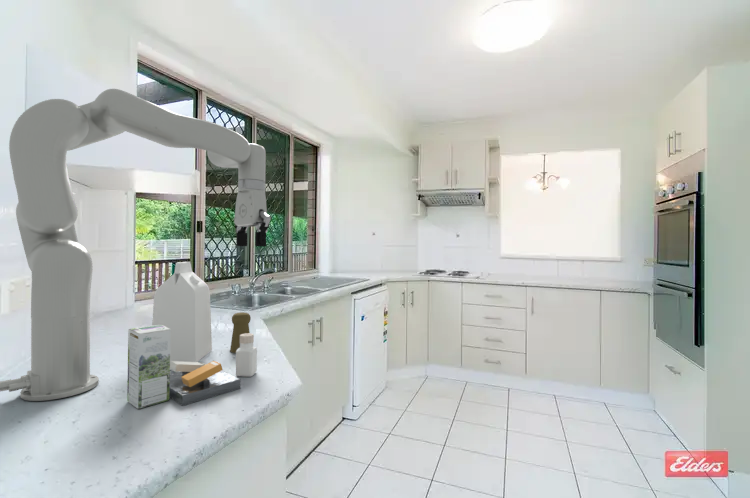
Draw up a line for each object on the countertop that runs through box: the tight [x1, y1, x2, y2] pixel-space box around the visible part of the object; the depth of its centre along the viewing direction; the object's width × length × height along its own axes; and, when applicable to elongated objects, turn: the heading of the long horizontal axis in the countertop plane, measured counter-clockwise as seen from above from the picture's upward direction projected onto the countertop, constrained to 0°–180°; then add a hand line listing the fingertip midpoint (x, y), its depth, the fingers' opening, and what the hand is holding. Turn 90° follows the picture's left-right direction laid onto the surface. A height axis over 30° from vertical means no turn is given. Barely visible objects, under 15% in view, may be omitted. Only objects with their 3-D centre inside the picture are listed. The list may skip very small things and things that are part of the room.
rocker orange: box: [181, 360, 223, 387], centre depth 78 cm, size 7×3×2 cm, turn 139°
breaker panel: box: [169, 370, 242, 407], centre depth 81 cm, size 12×14×3 cm
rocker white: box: [170, 361, 207, 373], centre depth 82 cm, size 7×3×2 cm, turn 139°
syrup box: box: [126, 325, 171, 410], centre depth 73 cm, size 6×6×14 cm
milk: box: [151, 261, 213, 362], centre depth 103 cm, size 12×12×26 cm
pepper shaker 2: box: [235, 332, 258, 378], centre depth 89 cm, size 4×4×10 cm
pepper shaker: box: [229, 311, 251, 354], centre depth 110 cm, size 6×6×11 cm
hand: (251, 246), depth 110 cm, fingers open, 9 cm apart
